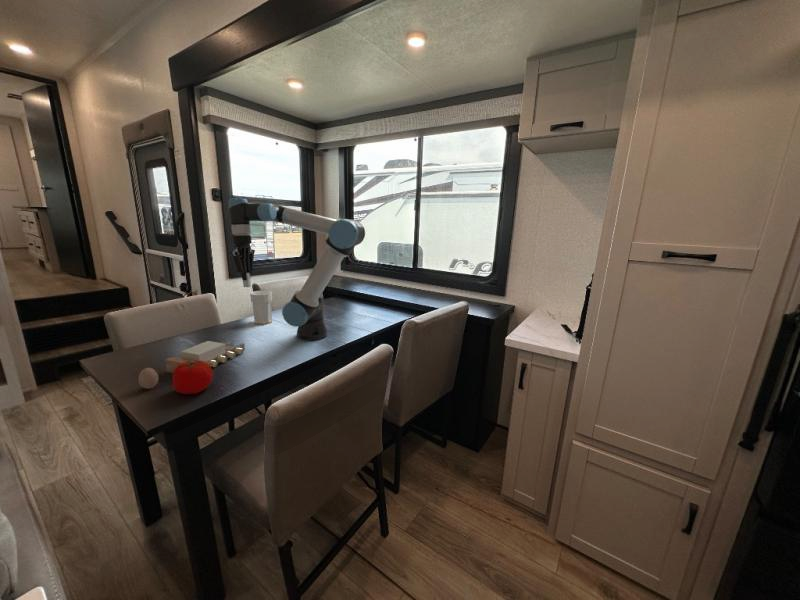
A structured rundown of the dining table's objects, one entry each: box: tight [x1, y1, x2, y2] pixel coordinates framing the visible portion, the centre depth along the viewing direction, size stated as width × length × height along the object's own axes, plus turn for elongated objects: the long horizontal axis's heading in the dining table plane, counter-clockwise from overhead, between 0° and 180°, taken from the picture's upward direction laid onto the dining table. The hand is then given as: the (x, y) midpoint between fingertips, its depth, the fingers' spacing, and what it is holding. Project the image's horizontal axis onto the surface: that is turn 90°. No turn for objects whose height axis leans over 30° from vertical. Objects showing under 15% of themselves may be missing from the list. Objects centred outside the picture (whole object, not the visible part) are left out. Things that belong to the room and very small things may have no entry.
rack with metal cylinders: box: [165, 341, 246, 374], centre depth 129 cm, size 14×27×5 cm, turn 163°
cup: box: [249, 290, 273, 326], centre depth 177 cm, size 11×11×17 cm
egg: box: [137, 367, 160, 390], centre depth 106 cm, size 5×5×7 cm
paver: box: [180, 340, 226, 362], centre depth 125 cm, size 9×12×4 cm
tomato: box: [172, 360, 214, 395], centre depth 105 cm, size 12×12×10 cm
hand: (247, 286), depth 145 cm, fingers closed
